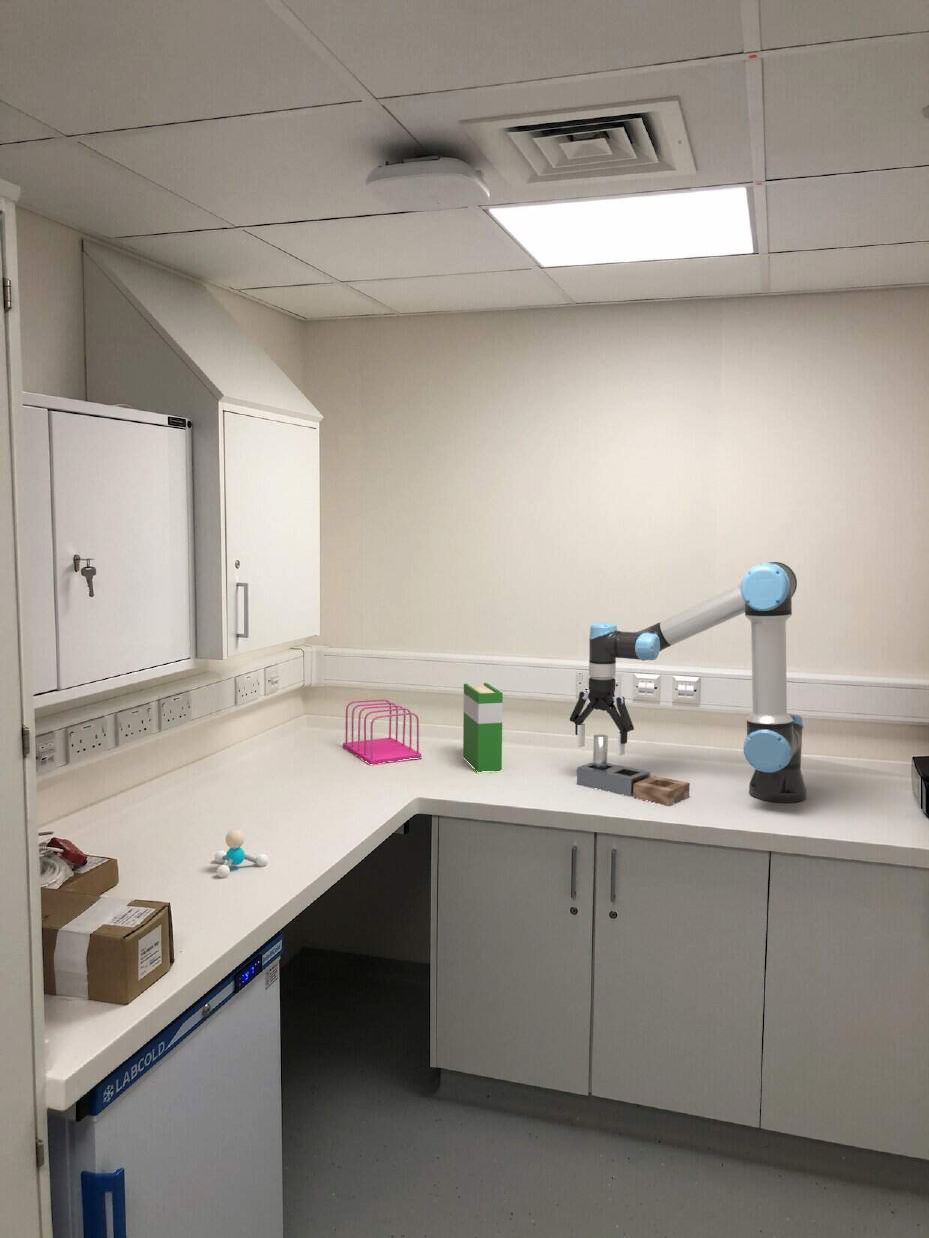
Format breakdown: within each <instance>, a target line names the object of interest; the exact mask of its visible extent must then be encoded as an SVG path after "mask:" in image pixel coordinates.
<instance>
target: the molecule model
mask: <svg viewBox="0 0 929 1238" xmlns="http://www.w3.org/2000/svg"><path fill="white" fill-rule="evenodd" d="M244 842H245V835H244V833H243V832H242V831H241V830H238V829H232V830H230V831H228V832H227V834H226V836H225V844H226V845H227V847H228V848H229V849H228V850H227V851H224V850H219V851H217V852H216V853H215V855H214V860H215V862H216V863H218V864H221V865H219V866H218V867H217V869H216V875H217V876H218V877H219V878H220V879H221V878H222V879H224V878H227V877H228V876H229V875H230V872H231V870H230V867H231V866H238V865H240V864H242V863H243V861H244V860H245V861H248V862H251V863H254V864H256V865H257V866H258V867H266V866H267V865H268V863H269V857H268V856H267V855H266V854H264V853H260V854H258V855H257V856H256V857H253V856H250V855H247V854H246V853H245V850H244V849H243V848H242V846H243V844H244ZM226 861H227V862H226ZM225 862H226V863H225ZM223 863H225V864H223Z"/></svg>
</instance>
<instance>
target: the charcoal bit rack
mask: <svg viewBox="0 0 929 1238" xmlns="http://www.w3.org/2000/svg"><path fill="white" fill-rule="evenodd" d="M576 773H577V774H576V785H578V786H582V785H584V786H583V787H586V786H587V787H586V788H590V787H591V789H595V788H597V789H596V790H599V789H601V790H600V791H603V790H604V792H608V791H610V792H609V793H612V792H613V793H614V794H616V795H617V794H618V795H621V794H624V795H623V796H625V795H627V796H626V797H629V798H630V797H631V796H632V797H633V786H634V783H637V782H639V781H642V780H644V779H647V778H650V777H651V771H647V770H643V769H640V768H639V769H638V768H633V767H630V766H624V765H619V764H614V763H609V762H607V769H605V770H599V769H594V768H593V761H592V762H588V763H586V764H583V765H581V766H577V767H576ZM613 793H612V794H613ZM632 797H631V798H632Z"/></svg>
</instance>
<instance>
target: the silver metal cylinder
mask: <svg viewBox="0 0 929 1238" xmlns="http://www.w3.org/2000/svg"><path fill="white" fill-rule="evenodd" d="M608 743H609V736H608V735H607V734H594V735H593V753H592V754H593V756H592V757H593V758H592V762H593V768H594V769H599V770H605V769H607V763H608V753H609V751H608V745H609V744H608Z"/></svg>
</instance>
